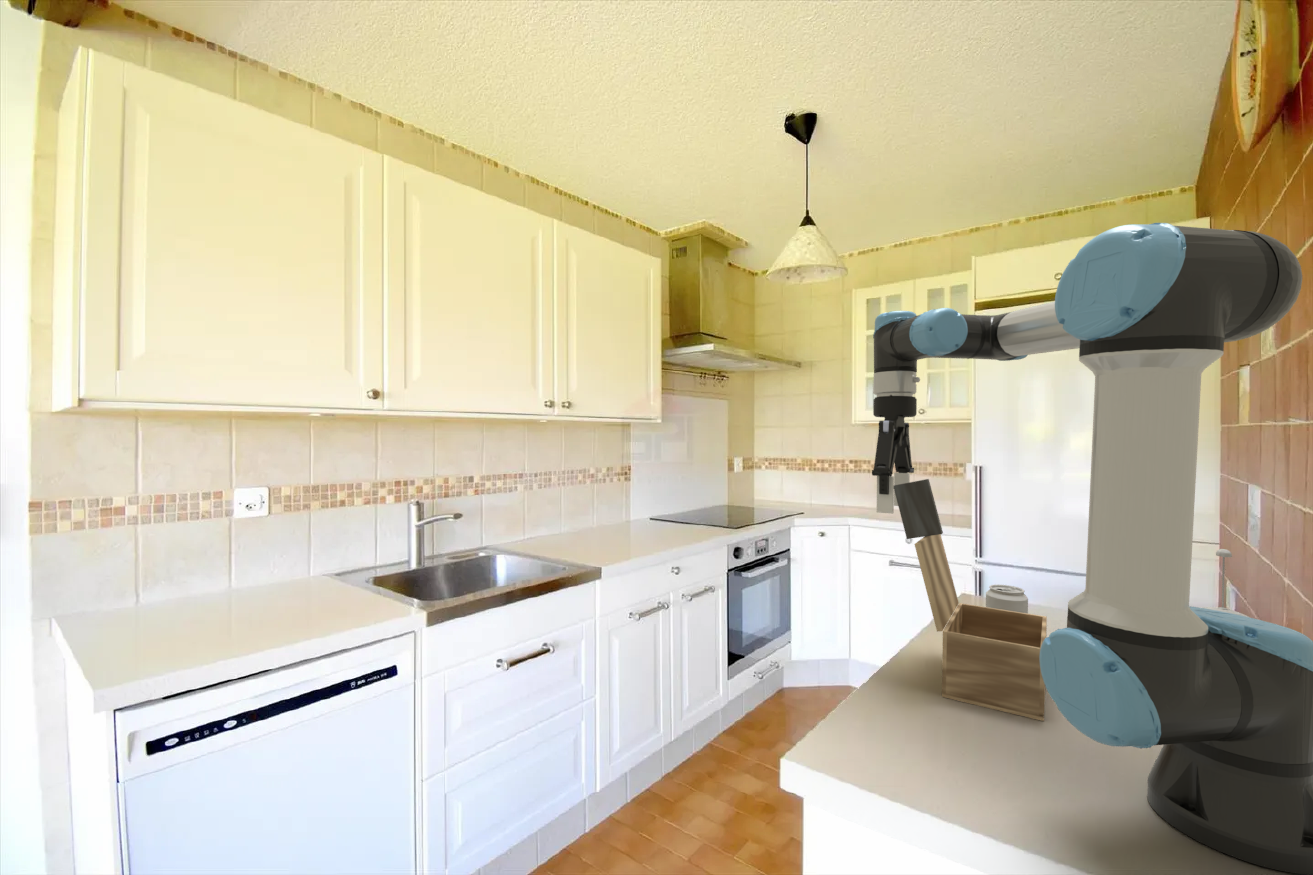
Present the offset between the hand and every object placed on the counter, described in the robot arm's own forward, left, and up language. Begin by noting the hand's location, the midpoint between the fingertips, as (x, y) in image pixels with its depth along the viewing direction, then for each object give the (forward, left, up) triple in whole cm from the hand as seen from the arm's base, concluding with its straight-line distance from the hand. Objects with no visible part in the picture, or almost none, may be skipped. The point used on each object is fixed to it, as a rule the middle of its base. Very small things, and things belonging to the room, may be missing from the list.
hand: (893, 509), depth 110 cm
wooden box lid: (0, -9, -6) cm, 11 cm away
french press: (+16, -48, -29) cm, 58 cm away
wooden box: (0, -17, -29) cm, 34 cm away
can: (+24, -17, -29) cm, 42 cm away
